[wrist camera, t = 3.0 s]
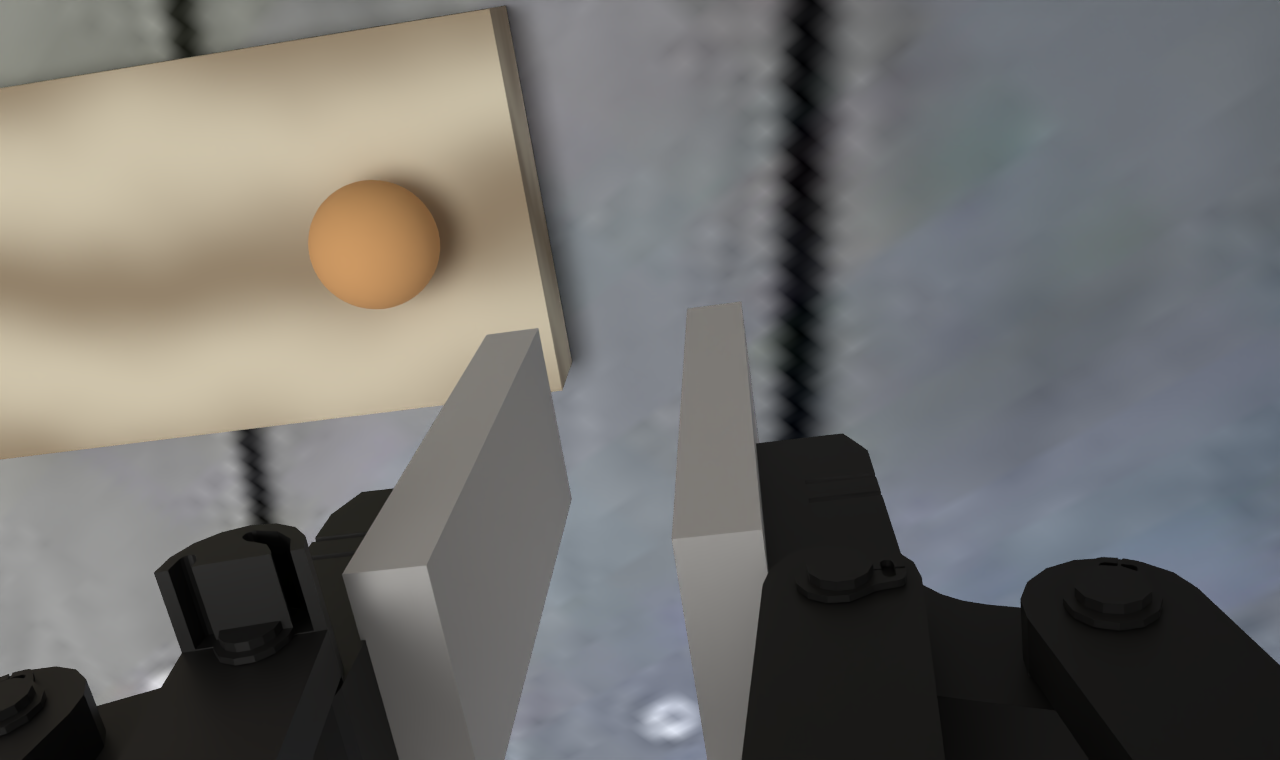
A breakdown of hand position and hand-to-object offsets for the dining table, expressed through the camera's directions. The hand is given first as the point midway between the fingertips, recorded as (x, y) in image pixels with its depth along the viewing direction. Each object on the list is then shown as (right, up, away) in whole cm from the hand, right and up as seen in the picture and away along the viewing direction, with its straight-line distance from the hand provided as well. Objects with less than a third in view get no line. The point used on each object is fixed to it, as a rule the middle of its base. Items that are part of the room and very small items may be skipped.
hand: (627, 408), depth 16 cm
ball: (-7, +4, +14) cm, 16 cm away
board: (-18, +4, +19) cm, 27 cm away
